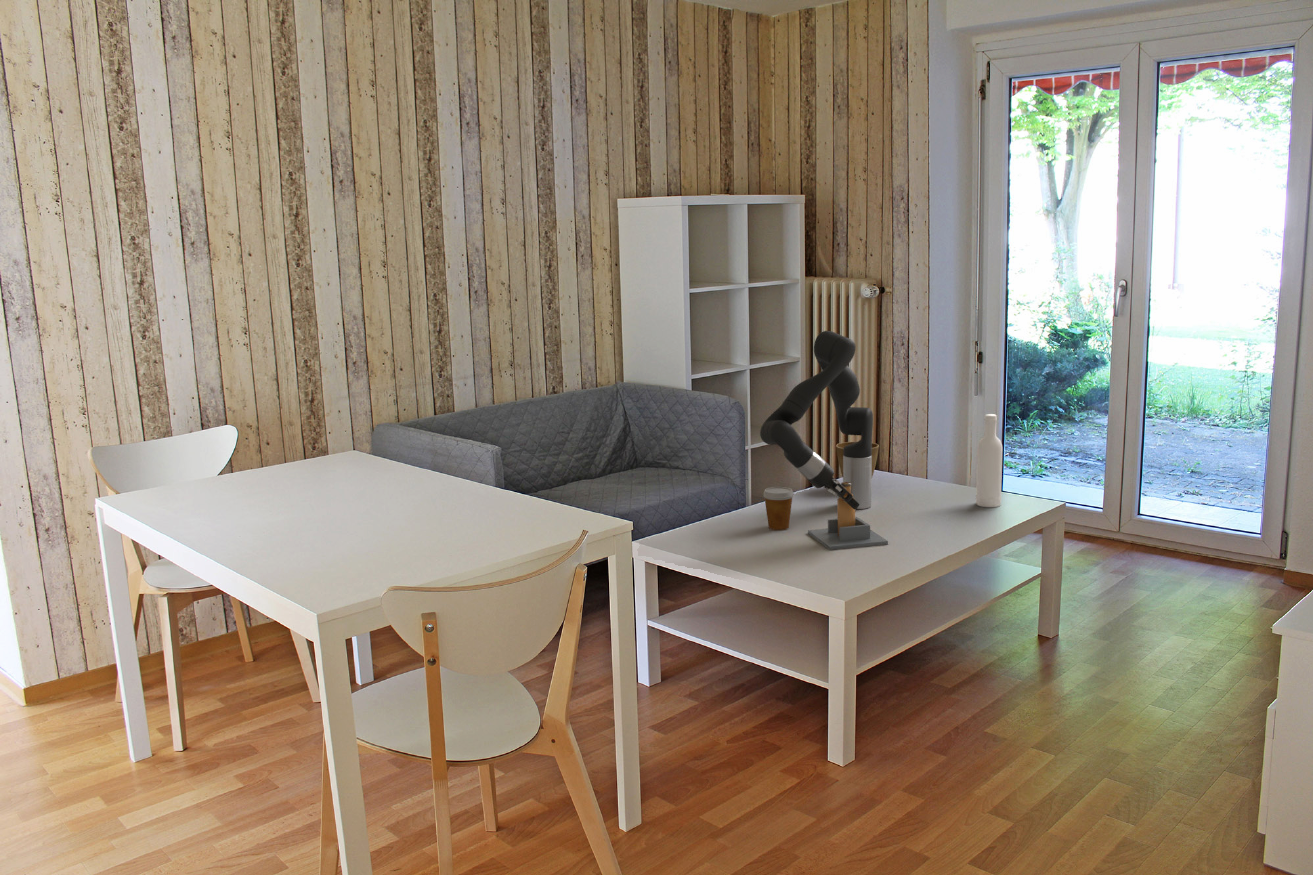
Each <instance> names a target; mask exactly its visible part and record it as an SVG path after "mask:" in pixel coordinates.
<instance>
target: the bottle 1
mask: <svg viewBox="0 0 1313 875" xmlns="http://www.w3.org/2000/svg"><path fill="white" fill-rule="evenodd" d="M840 484H841V485H842V486H843V487H844V488H846V490H847V491H848V492H849V493H850V494H851V482H843V481H842V482H841V483H840ZM846 496H847V494H846V493H845V495H844V498H845V497H846ZM852 496H853V494H852ZM836 505H837V514H836V515H837V518H838V536H839V527H848V526H855V517H856V509H855V510H854V509H853V508H852V507H851V506H850V505H849V504H848V503H846V502H844V500H843V499H842V498H837V504H836Z"/></svg>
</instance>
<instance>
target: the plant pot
mask: <svg viewBox="0 0 1313 875" xmlns="http://www.w3.org/2000/svg"><path fill="white" fill-rule="evenodd" d="M856 442H857V441H847V442H840V443H837V444H836V445H835V448H836V450H835V451H836V455H837V461H838V467H839V469H840V473H841V477H842V478H843V449H844V447H845V446H847V445H850V444H853V443H856ZM879 448H880V445H879V444H877V443H876V442H872V477H873V476H874V473H875V468H876V465H877V461H878V454H879Z"/></svg>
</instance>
